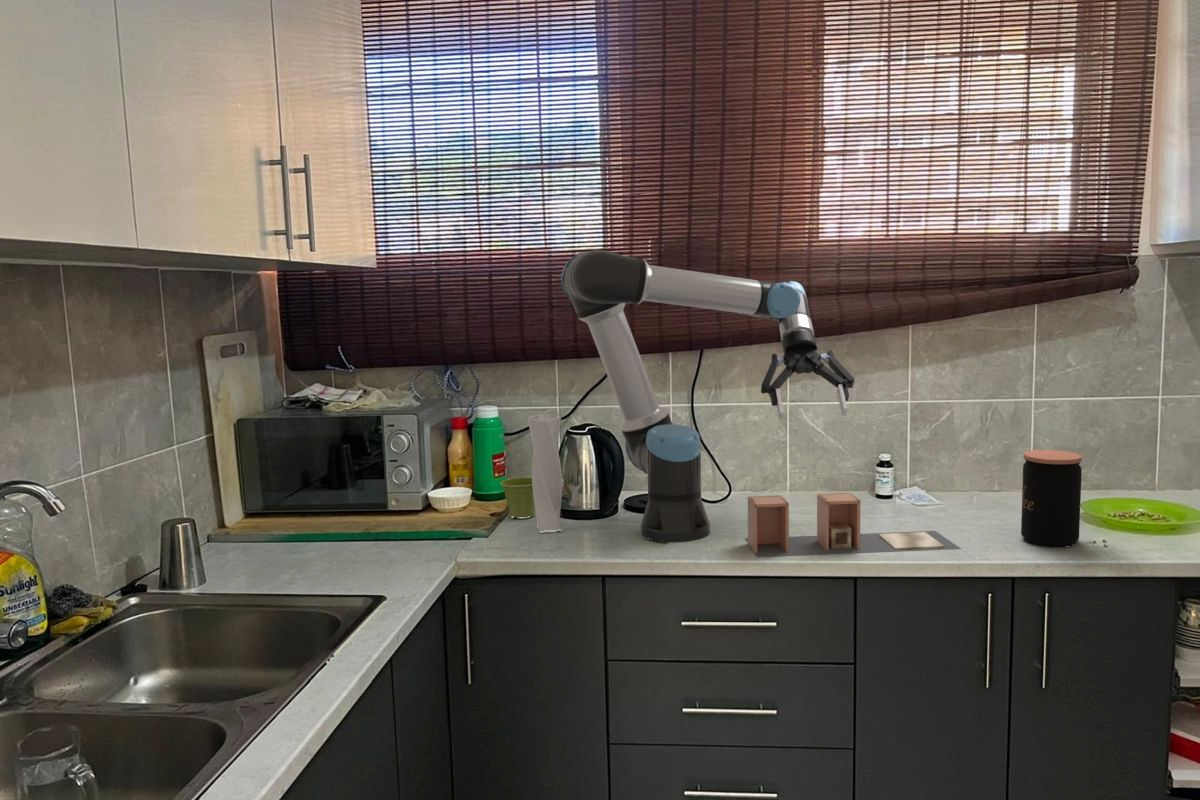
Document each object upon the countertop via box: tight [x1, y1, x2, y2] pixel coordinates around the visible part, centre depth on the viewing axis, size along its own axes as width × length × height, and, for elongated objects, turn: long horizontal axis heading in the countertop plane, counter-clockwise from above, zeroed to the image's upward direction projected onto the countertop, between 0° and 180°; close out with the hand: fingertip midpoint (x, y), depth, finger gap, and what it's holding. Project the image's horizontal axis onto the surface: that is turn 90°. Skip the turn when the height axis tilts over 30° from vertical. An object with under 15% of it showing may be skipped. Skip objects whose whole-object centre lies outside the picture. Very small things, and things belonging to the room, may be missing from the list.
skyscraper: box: [527, 409, 563, 532], centre depth 200 cm, size 8×8×28 cm
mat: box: [744, 530, 962, 558], centre depth 183 cm, size 41×13×1 cm, turn 92°
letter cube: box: [829, 523, 851, 548], centre depth 182 cm, size 4×4×4 cm
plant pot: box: [500, 477, 536, 517], centre depth 214 cm, size 9×9×9 cm
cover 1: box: [747, 495, 790, 554], centre depth 181 cm, size 7×6×10 cm
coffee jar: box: [1020, 449, 1083, 548], centre depth 180 cm, size 11×11×18 cm
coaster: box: [878, 531, 945, 550], centre depth 183 cm, size 10×10×1 cm
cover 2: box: [816, 492, 861, 550], centre depth 182 cm, size 7×6×10 cm
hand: (813, 414), depth 192 cm, fingers open, 13 cm apart
